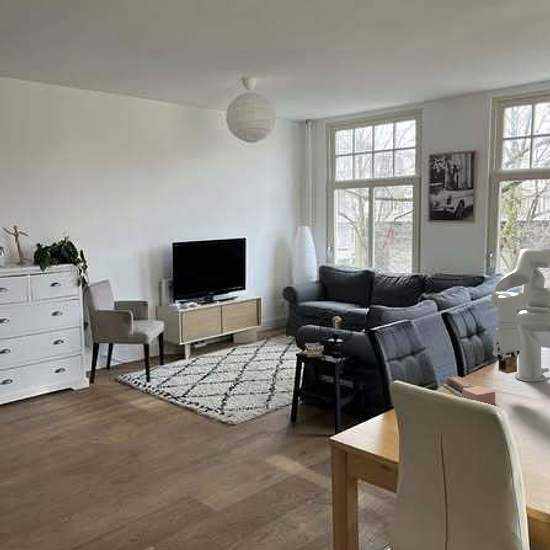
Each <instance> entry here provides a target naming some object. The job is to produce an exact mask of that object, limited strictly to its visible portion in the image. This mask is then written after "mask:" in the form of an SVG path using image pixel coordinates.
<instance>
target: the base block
mask: <svg viewBox="0 0 550 550" xmlns="http://www.w3.org/2000/svg"><path fill="white" fill-rule="evenodd" d="M474 386H475V387H470V388H464V389H462V397H464V398H467V399H471V400H476V401H480V402H484V403H488V404H491V405H495V404H496V391H495V390H492V389H490V388H487V387H484V386H482V385H477V386H476V385H474Z"/></svg>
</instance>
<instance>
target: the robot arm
mask: <svg viewBox="0 0 550 550" xmlns="http://www.w3.org/2000/svg"><path fill="white" fill-rule="evenodd" d="M546 268H547V269H550V248H523V249H520V250H518V252H517V254H516V256H515V259H514V262H513V265H512V269H511V272H509V273H507V274H506V275H504V276H503V277H502V278H501V279H499V280H498V281H497V282H496V284H495V285H494V288H493V290H492V293H491V297H490V303H491V306H492V307H493V308H494V309H496V322H497V325H496V328H495V331H494V336H493V337H494V338H493V351H492V355H493V356H495V357H496V358H497V360H498V359H499V364H498V370H499V369H502V370H505V369H506V365H505V360H504V359H505V355H507V354H510V356H513V357H516V358H517V359H518V372H515V374H514V378H515V379H517V380H520V381H523V382H529V383H530V382H531V383H537V382H543V381H545V380H546V376H545V375H544V373H549V372H550V369H549V368H548V367H545V368H543V367H542V339H541V337H540V335H538V333H545V334H546V333H548V334H550V287H545V281H546V280H545V279H546V277H545V276H544V274H543V273H542V272H541V271H540V269H546ZM520 286H523V289H522V291H523V292H520V291H519V292H518V291H508V290H511V289H513V288H517V287H520ZM526 308H530V309H526ZM532 309H533V310H532ZM534 309H535V310H534ZM536 309H539V310H536ZM540 309H544V310H540ZM545 310H547V311H545Z"/></svg>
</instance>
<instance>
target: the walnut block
mask: <svg viewBox="0 0 550 550" xmlns="http://www.w3.org/2000/svg"><path fill="white" fill-rule="evenodd" d="M497 360H498V365H499V359H497ZM504 360H505V365H506V369H505V370H502V369H499V368H498V372H502V373H504V374H507V375H508V374H513V373H518V358H516V357H513V356H511V355H509V354H505V359H504Z"/></svg>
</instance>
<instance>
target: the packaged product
mask: <svg viewBox="0 0 550 550" xmlns="http://www.w3.org/2000/svg"><path fill="white" fill-rule="evenodd" d="M442 386H443V387H444V388H445V389H446V390H448V391H450V393H452V394H454V395H455V396H457V397H459V396H460V397H462V389H464V388H470V387H475V386H476V385H475V384H472V383H471V382H469V381H468V380H466V379H465V378H463V377H461V376H459V375H458V376H448V377H447V378H446V383H442ZM460 397H459V398H460Z"/></svg>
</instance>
